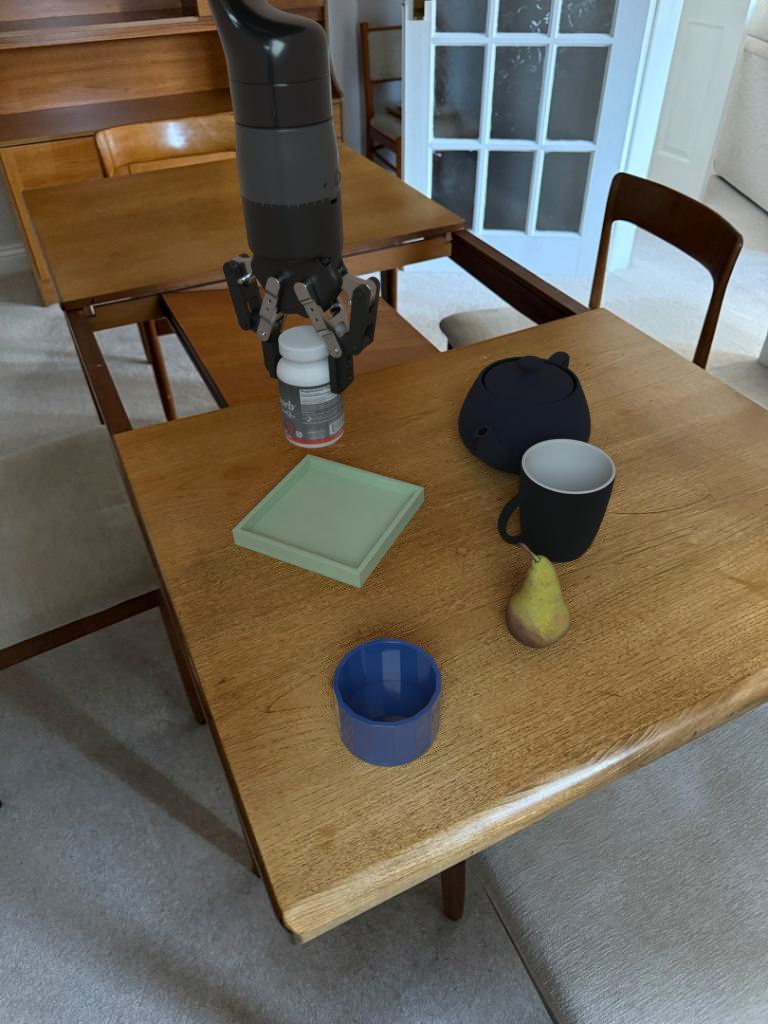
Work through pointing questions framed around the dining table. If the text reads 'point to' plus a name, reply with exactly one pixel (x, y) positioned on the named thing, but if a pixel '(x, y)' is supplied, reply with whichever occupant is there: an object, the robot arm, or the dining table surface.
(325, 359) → the pill bottle
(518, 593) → the fruit
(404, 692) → the pen cup
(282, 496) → the tray
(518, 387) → the teapot
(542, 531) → the mug
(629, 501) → the dining table surface
